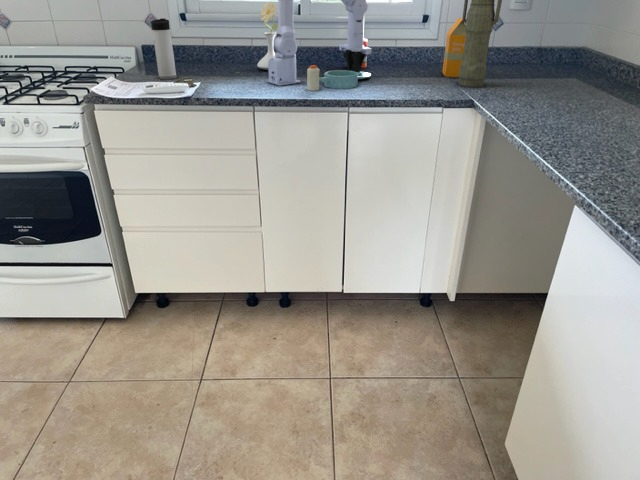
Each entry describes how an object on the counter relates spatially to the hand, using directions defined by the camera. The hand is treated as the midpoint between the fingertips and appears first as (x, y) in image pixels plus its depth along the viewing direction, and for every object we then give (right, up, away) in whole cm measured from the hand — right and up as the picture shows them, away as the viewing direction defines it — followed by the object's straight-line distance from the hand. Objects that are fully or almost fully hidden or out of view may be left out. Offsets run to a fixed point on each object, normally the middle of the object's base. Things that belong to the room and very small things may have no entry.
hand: (354, 72), depth 181 cm
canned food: (+2, +9, +20) cm, 22 cm away
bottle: (-15, -11, -17) cm, 25 cm away
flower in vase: (-32, +6, +15) cm, 36 cm away
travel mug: (-69, -2, 0) cm, 69 cm away
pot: (-5, -8, -10) cm, 14 cm away
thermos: (+40, -8, -10) cm, 42 cm away
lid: (0, -1, +1) cm, 1 cm away
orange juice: (+39, +1, +7) cm, 39 cm away
